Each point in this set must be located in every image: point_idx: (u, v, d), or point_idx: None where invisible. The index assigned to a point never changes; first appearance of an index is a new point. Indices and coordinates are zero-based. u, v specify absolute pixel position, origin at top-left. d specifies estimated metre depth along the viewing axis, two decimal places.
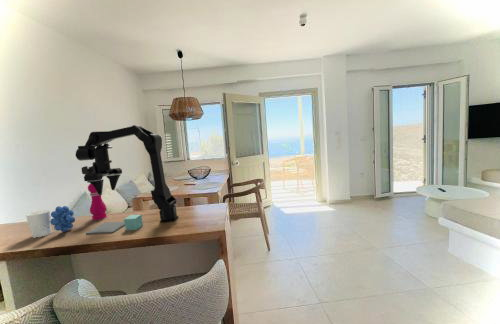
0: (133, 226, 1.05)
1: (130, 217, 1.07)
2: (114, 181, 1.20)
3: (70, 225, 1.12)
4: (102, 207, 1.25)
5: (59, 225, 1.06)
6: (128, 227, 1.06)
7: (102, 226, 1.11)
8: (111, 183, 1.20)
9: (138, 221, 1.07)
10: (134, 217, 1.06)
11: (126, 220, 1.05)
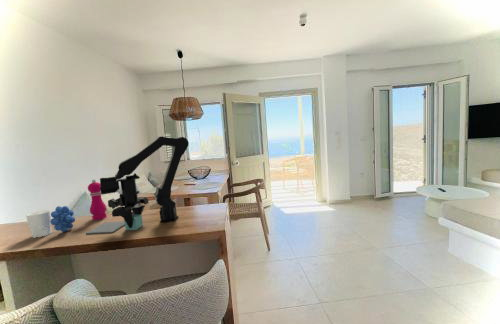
0: (133, 226, 1.05)
1: None
2: (138, 213, 1.10)
3: (70, 225, 1.12)
4: (102, 207, 1.25)
5: (59, 225, 1.06)
6: (128, 227, 1.06)
7: (102, 226, 1.11)
8: None
9: (138, 221, 1.07)
10: (134, 217, 1.06)
11: None
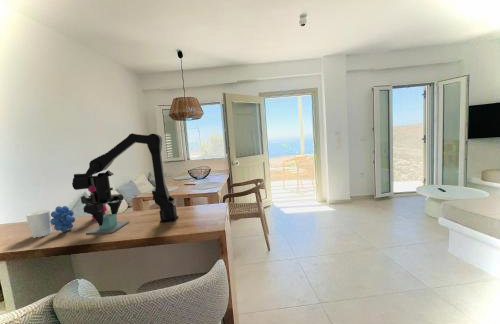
0: (107, 225, 1.07)
1: (103, 216, 1.09)
2: (115, 209, 1.14)
3: (70, 225, 1.12)
4: None
5: (59, 225, 1.06)
6: (101, 226, 1.08)
7: None
8: (112, 211, 1.14)
9: (112, 220, 1.09)
10: (108, 216, 1.08)
11: None
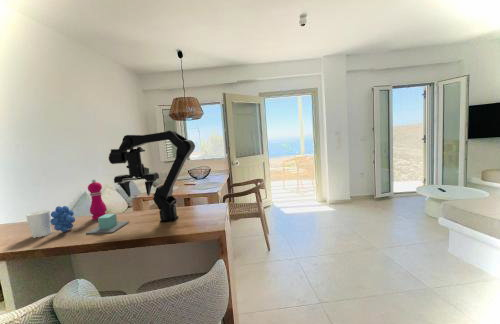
0: (107, 225, 1.07)
1: (103, 216, 1.09)
2: None
3: (70, 225, 1.12)
4: (102, 207, 1.25)
5: (59, 225, 1.06)
6: (101, 226, 1.08)
7: None
8: None
9: (112, 220, 1.09)
10: (108, 216, 1.08)
11: (100, 219, 1.07)
